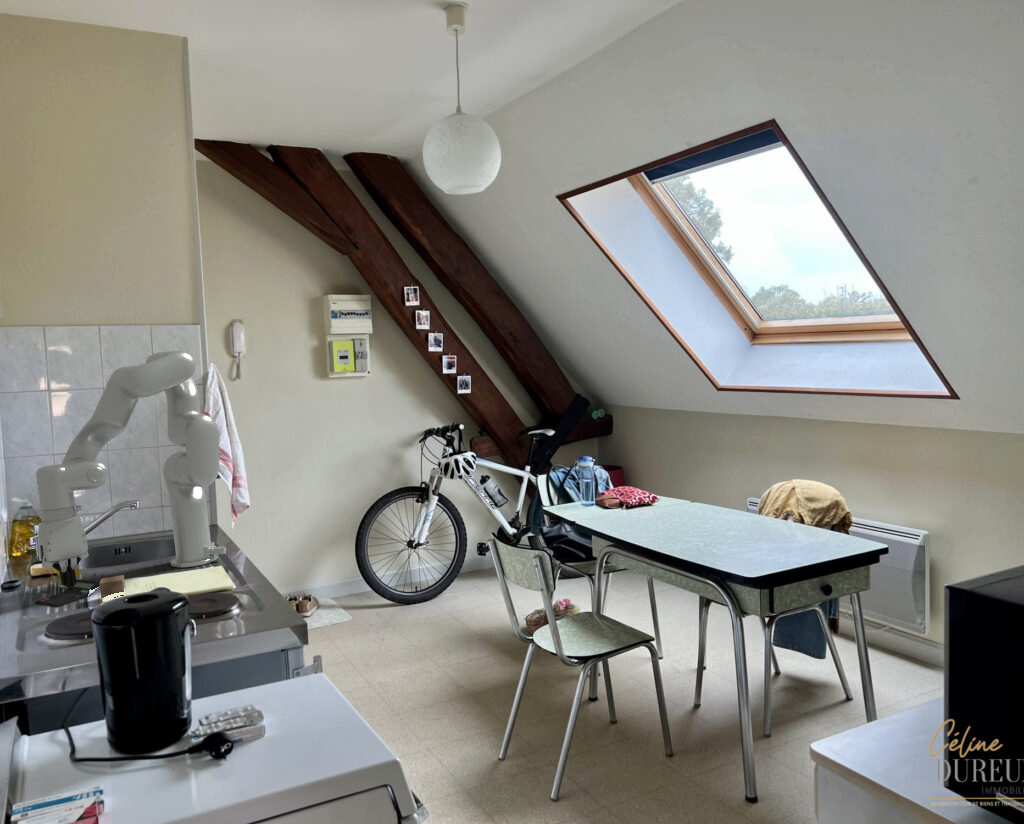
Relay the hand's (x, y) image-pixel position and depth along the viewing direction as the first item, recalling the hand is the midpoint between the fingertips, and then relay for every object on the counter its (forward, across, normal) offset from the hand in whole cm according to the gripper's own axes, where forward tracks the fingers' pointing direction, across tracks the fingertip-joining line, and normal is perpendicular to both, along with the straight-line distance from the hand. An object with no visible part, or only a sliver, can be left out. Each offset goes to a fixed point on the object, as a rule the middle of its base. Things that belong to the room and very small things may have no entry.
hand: (69, 585), depth 199 cm
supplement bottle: (+3, -5, -12) cm, 14 cm away
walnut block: (+3, -5, +12) cm, 14 cm away
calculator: (+4, 0, 0) cm, 4 cm away
